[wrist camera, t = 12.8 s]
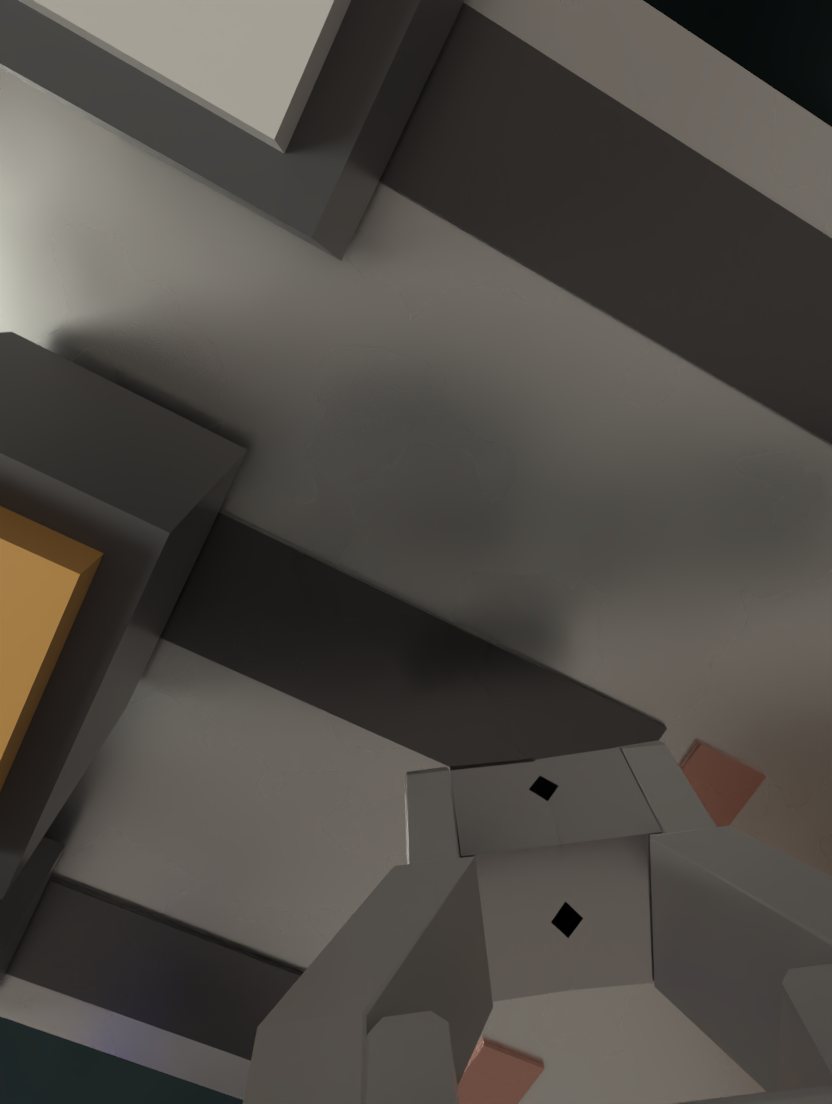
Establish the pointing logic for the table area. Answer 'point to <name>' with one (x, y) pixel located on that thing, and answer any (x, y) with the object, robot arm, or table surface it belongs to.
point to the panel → (447, 519)
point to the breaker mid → (85, 567)
